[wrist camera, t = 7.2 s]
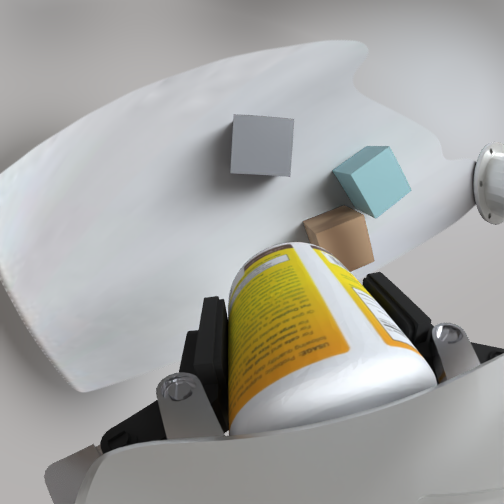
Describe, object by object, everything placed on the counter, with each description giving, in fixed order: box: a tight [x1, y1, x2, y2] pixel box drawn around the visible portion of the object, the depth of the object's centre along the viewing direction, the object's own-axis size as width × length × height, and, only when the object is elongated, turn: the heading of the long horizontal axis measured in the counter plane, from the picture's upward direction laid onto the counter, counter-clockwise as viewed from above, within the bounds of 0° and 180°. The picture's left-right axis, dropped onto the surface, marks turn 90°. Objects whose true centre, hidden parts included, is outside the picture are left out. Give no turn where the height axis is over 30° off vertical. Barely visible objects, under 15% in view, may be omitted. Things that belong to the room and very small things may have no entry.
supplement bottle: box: [228, 242, 437, 436], centre depth 8 cm, size 6×6×10 cm
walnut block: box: [303, 205, 374, 272], centre depth 28 cm, size 5×5×5 cm
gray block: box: [230, 114, 294, 177], centre depth 25 cm, size 5×5×5 cm
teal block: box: [332, 146, 411, 218], centre depth 26 cm, size 5×5×5 cm
